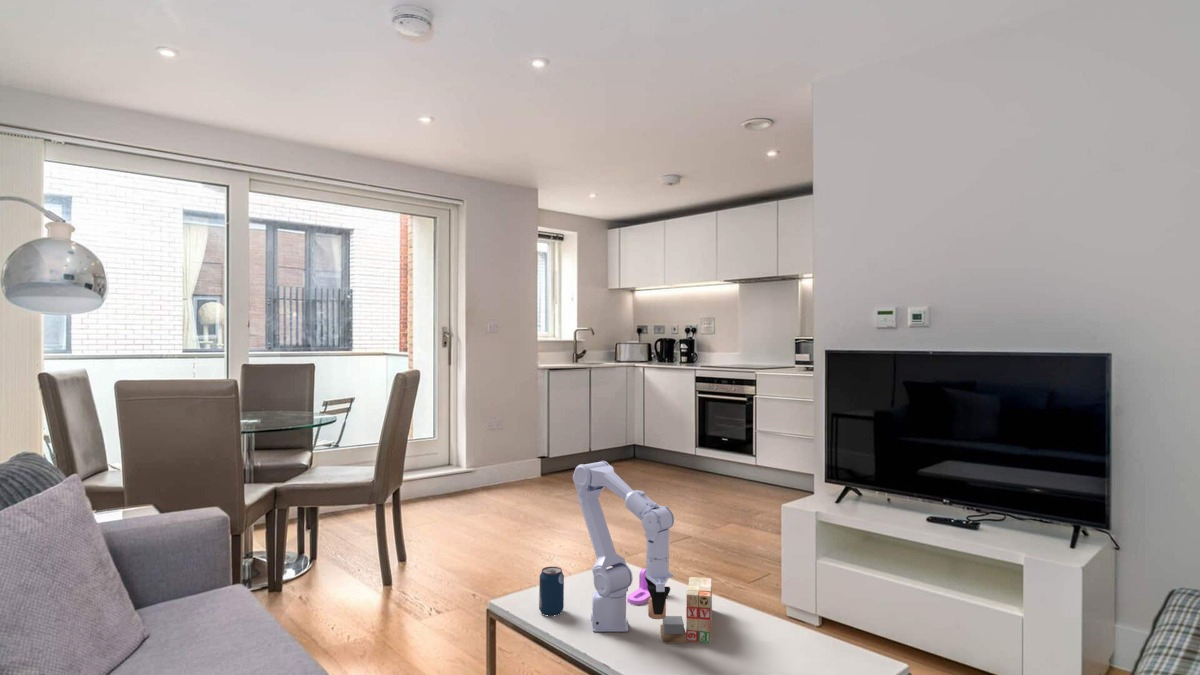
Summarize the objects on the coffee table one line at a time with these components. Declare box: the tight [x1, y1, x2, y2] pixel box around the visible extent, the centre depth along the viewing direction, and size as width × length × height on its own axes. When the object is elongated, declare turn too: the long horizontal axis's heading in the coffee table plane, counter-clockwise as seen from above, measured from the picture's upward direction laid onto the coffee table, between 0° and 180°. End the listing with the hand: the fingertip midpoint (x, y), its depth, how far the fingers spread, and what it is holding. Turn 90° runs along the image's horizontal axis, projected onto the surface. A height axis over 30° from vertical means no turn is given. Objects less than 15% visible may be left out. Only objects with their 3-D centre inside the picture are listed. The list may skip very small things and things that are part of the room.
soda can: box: [538, 566, 565, 617], centre depth 182 cm, size 7×7×12 cm
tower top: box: [662, 615, 685, 634], centre depth 167 cm, size 5×5×2 cm
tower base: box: [659, 624, 688, 644], centre depth 167 cm, size 6×6×2 cm
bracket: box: [626, 568, 650, 606], centre depth 194 cm, size 13×6×7 cm, turn 147°
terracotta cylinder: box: [647, 595, 667, 620], centre depth 163 cm, size 4×4×4 cm
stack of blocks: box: [685, 576, 713, 644], centre depth 175 cm, size 21×6×12 cm, turn 169°
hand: (657, 609), depth 163 cm, fingers closed on terracotta cylinder, 4 cm apart
